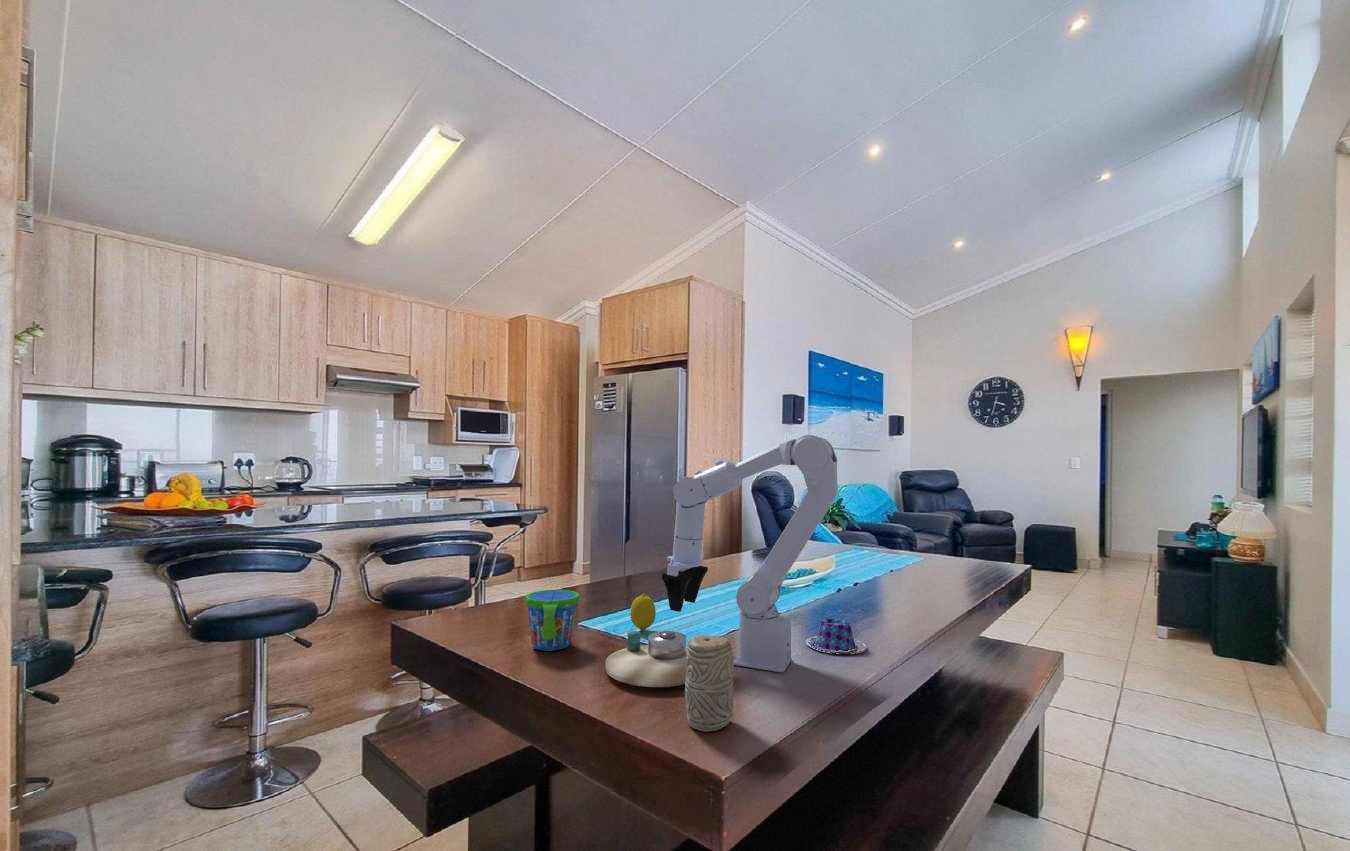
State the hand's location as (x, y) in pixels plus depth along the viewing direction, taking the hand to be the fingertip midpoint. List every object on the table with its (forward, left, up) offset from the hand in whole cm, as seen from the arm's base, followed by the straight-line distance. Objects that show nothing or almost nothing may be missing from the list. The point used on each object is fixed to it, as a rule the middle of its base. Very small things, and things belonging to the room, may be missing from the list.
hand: (682, 606), depth 113 cm
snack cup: (+25, +9, -9) cm, 28 cm away
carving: (-15, +28, -9) cm, 33 cm away
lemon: (+13, -8, -9) cm, 17 cm away
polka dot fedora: (-27, -16, -9) cm, 33 cm away
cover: (0, +8, -7) cm, 11 cm away
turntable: (0, +13, -9) cm, 16 cm away
